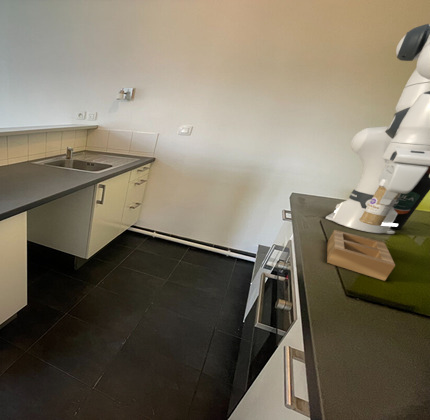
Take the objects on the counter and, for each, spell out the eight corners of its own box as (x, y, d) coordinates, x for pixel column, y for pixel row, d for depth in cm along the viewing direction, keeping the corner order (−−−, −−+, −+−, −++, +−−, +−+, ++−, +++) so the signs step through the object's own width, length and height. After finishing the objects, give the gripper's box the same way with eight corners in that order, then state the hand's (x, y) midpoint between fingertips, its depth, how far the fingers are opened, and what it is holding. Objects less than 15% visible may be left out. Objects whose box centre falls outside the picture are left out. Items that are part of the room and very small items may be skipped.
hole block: (327, 242, 86) (334, 229, 84) (376, 255, 79) (384, 242, 77) (326, 262, 73) (334, 248, 71) (384, 280, 66) (395, 265, 64)
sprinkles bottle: (354, 219, 77) (377, 178, 72) (368, 220, 77) (393, 179, 72) (370, 225, 72) (396, 182, 67) (386, 226, 72) (413, 183, 67)
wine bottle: (406, 230, 99) (462, 157, 88) (385, 227, 100) (437, 154, 89) (387, 223, 106) (436, 154, 95) (367, 220, 107) (413, 151, 96)
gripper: (386, 150, 76) (363, 193, 81) (398, 155, 62) (369, 206, 68) (420, 154, 71) (393, 198, 77) (440, 160, 58) (406, 213, 63)
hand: (382, 202), depth 72 cm, fingers closed on sprinkles bottle, 4 cm apart
